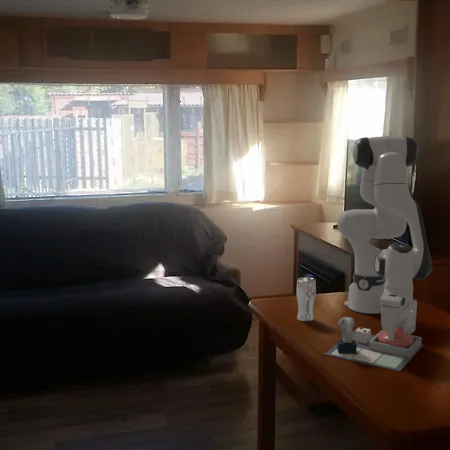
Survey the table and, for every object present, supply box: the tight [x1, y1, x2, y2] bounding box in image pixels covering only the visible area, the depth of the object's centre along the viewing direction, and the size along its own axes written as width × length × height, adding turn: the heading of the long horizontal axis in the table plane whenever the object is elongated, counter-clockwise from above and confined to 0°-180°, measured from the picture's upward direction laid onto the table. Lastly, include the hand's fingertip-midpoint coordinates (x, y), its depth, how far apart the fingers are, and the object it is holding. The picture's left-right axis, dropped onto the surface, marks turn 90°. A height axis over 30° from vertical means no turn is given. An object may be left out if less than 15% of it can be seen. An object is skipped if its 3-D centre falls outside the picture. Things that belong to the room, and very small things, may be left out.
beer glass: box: [296, 276, 317, 322], centre depth 231 cm, size 7×7×15 cm
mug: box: [403, 298, 418, 335], centre depth 217 cm, size 12×9×11 cm
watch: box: [336, 316, 357, 354], centre depth 199 cm, size 6×8×11 cm
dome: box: [377, 328, 414, 348], centre depth 203 cm, size 11×11×6 cm
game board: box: [324, 326, 424, 373], centre depth 201 cm, size 25×24×4 cm
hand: (395, 336), depth 203 cm, fingers open, 8 cm apart
